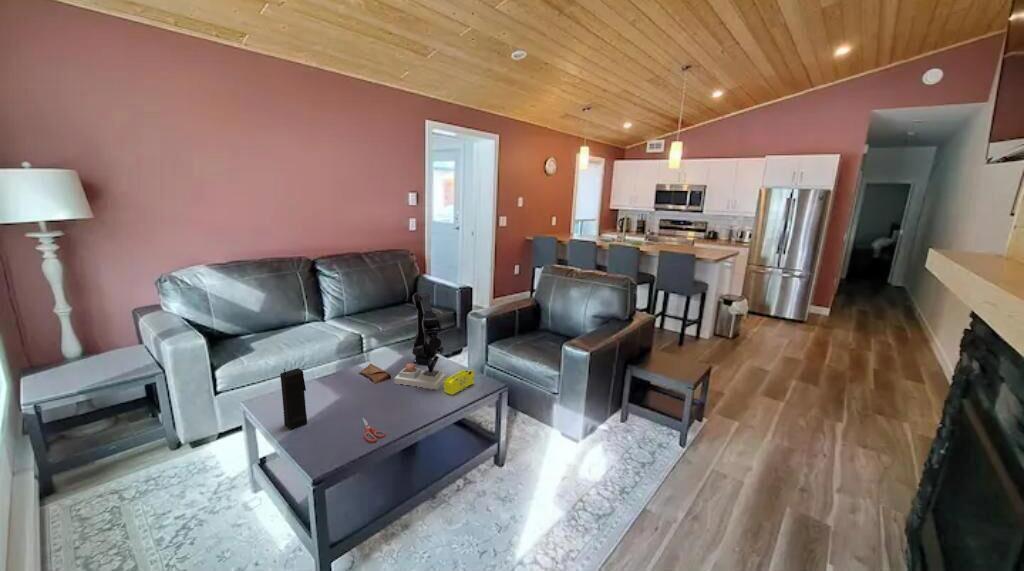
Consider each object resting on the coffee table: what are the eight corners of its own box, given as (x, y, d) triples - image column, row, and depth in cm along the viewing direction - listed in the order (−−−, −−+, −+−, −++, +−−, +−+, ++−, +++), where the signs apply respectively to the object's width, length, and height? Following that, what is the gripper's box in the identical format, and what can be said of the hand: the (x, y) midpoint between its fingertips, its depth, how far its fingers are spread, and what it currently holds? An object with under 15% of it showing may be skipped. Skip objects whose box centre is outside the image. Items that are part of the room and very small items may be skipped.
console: (406, 373, 215) (405, 364, 214) (446, 379, 210) (446, 369, 209) (394, 383, 203) (394, 373, 202) (436, 390, 198) (436, 380, 197)
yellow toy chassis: (452, 396, 193) (452, 380, 191) (443, 393, 196) (443, 376, 194) (474, 384, 206) (475, 368, 204) (465, 381, 209) (466, 365, 207)
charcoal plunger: (428, 374, 207) (428, 369, 207) (437, 375, 206) (436, 370, 206) (424, 378, 203) (424, 373, 202) (433, 379, 202) (433, 374, 201)
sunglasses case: (356, 372, 213) (362, 360, 214) (367, 375, 218) (373, 363, 220) (376, 384, 202) (382, 371, 203) (387, 387, 207) (393, 374, 208)
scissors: (363, 415, 175) (363, 412, 175) (388, 437, 161) (388, 434, 160) (345, 422, 170) (345, 419, 169) (369, 445, 155) (369, 442, 155)
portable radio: (303, 417, 172) (298, 360, 166) (310, 422, 168) (306, 364, 162) (283, 424, 166) (278, 366, 160) (290, 430, 162) (284, 371, 156)
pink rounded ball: (408, 367, 209) (408, 362, 209) (416, 369, 208) (416, 363, 208) (404, 371, 205) (404, 366, 204) (412, 372, 204) (412, 367, 203)
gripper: (423, 333, 211) (423, 362, 215) (406, 346, 193) (406, 377, 197) (444, 336, 209) (444, 365, 212) (428, 349, 191) (428, 380, 195)
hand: (430, 371), depth 204 cm, fingers closed, pressing on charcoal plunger
